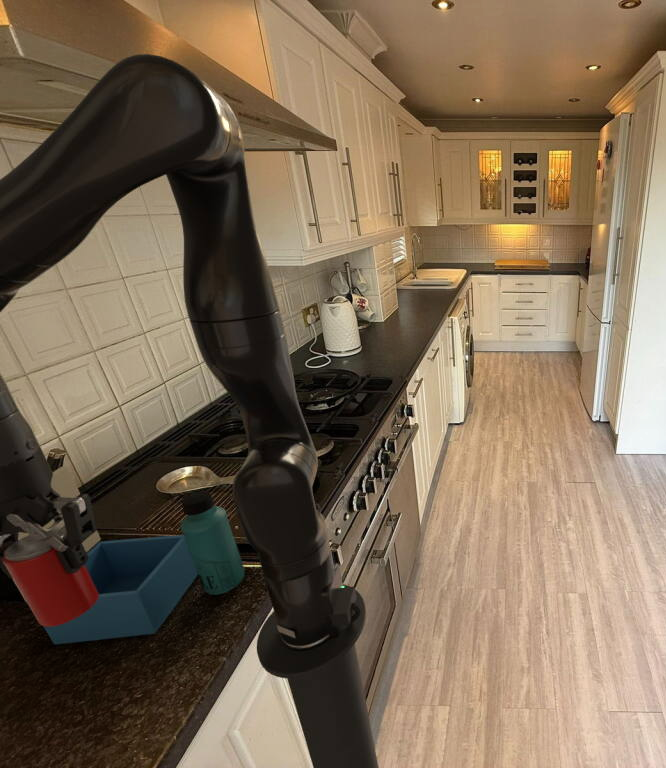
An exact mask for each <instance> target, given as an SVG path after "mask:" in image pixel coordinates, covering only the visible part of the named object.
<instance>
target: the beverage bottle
mask: <svg viewBox="0 0 666 768" xmlns="http://www.w3.org/2000/svg"><path fill="white" fill-rule="evenodd" d="M181 506H182V511H183V514H184V515H185V518H183V520H182V521H181V524H180V530H181V532H182V535H184V536H185V539H186V542H187V544H188V548H189V550H190V552H189V553H191V556H192V558H193V561H194V564H195V566H196V569H197V572H198V576H197V578H198V580H199V583H200V585H201V587H202V589H203V591H204V592H206V593H207V594H208V595H213V596H215V595H216V596H217V595H221V594H222V595H223V594H225V593H228V592H229V591H232V590H233V589H235V588H236V587H237V586H239V585H240V583H241V582H242V581H243V580H244V578H245V574H246V570H245V565H244V562H243V559H242V556H241V553H240V552H241V551H240V549H239V547H238V545H237V542H236V539H235V537H234V535H233V532H232V529H231V525H230V522H229V519H228V515H227V510H226V509H225V508H223V507H221V506H217V505H215V500H214V498H213V496H212V493H211V492H210V491H207V490H200V491H195V492H192V493H190V494H188V495H187V496H185V497H184V498H183V499H182V500H181ZM188 548H187V549H188ZM189 550H188V551H189ZM197 572H196V573H197Z"/></svg>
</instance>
